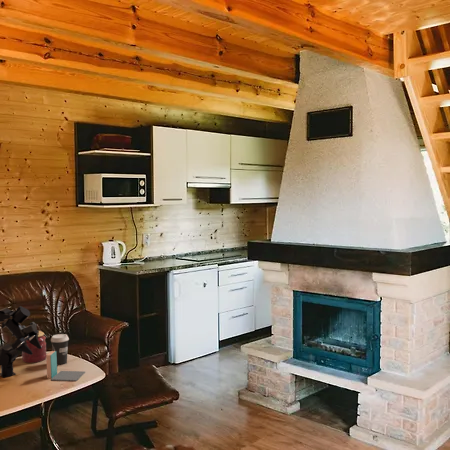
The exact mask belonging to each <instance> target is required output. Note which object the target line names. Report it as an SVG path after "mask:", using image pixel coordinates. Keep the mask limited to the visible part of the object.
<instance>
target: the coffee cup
mask: <svg viewBox="0 0 450 450" xmlns="http://www.w3.org/2000/svg"><path fill="white" fill-rule="evenodd" d="M69 340H70V338H69V336H68V334H66V333H65V334H64V333H59V334H53V335H52V337H51V338H50V342H51V346H52V347H51V349H52V351H56V355H57V366H62V365H65V364H67V363H68V351H69V350H68V349H69V348H68V347H69V346H68V345H69Z"/></svg>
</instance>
